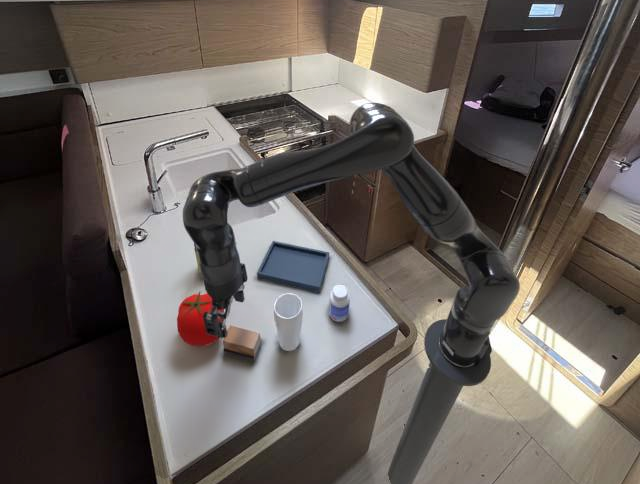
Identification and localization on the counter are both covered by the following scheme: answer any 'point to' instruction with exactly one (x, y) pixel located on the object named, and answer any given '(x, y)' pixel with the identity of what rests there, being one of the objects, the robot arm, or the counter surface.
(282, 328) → the drinking glass
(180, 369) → the counter surface
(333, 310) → the pill bottle
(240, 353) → the eraser
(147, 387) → the counter surface
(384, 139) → the robot arm
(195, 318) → the tomato
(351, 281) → the counter surface
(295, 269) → the tray
